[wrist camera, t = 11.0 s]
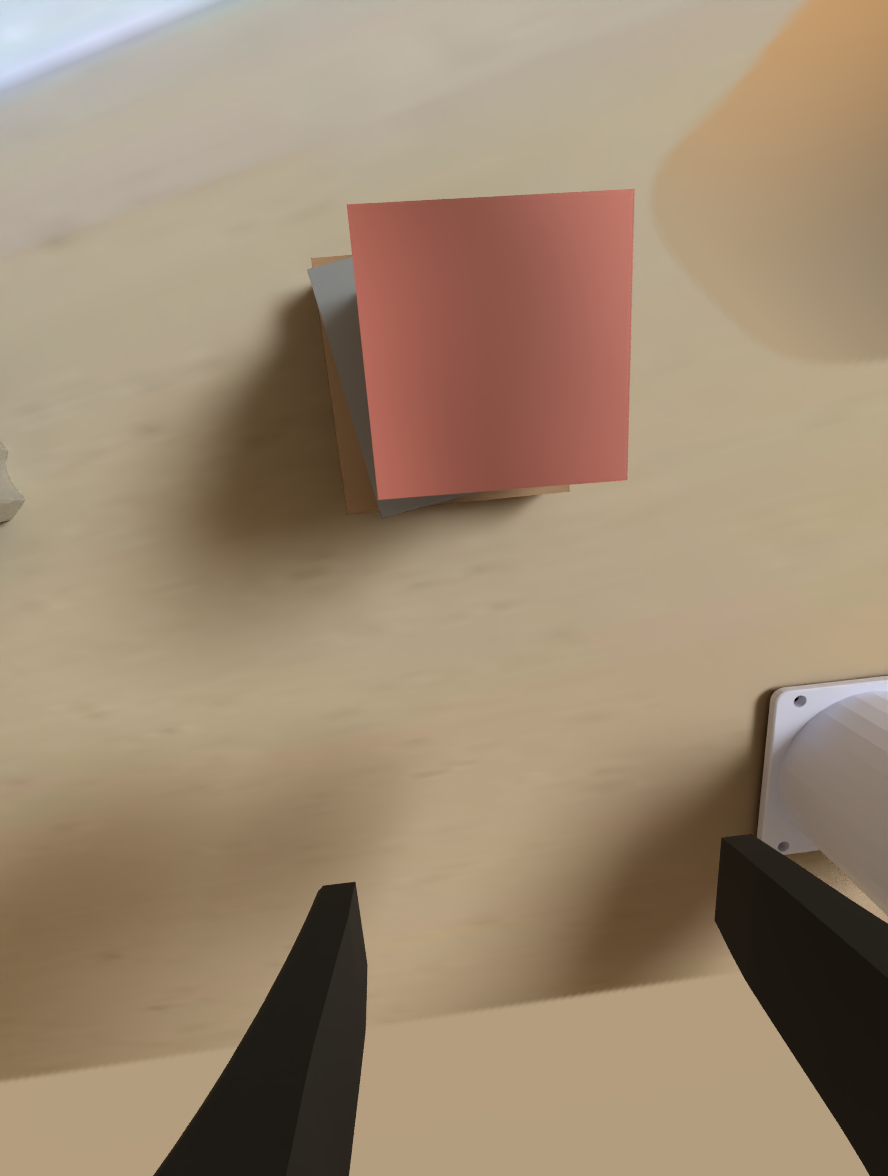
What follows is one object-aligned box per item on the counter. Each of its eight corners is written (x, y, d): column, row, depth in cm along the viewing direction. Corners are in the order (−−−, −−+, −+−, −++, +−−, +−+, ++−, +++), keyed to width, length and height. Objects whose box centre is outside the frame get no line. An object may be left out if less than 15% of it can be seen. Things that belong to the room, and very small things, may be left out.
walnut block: (540, 267, 17) (562, 239, 15) (548, 485, 19) (569, 491, 17) (324, 284, 17) (311, 258, 14) (354, 504, 19) (347, 513, 16)
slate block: (530, 240, 15) (555, 200, 12) (571, 455, 16) (600, 457, 14) (322, 298, 15) (307, 269, 12) (384, 507, 16) (381, 518, 14)
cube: (555, 274, 13) (634, 188, 8) (558, 467, 14) (627, 480, 9) (367, 286, 12) (346, 204, 8) (387, 480, 14) (377, 500, 9)
